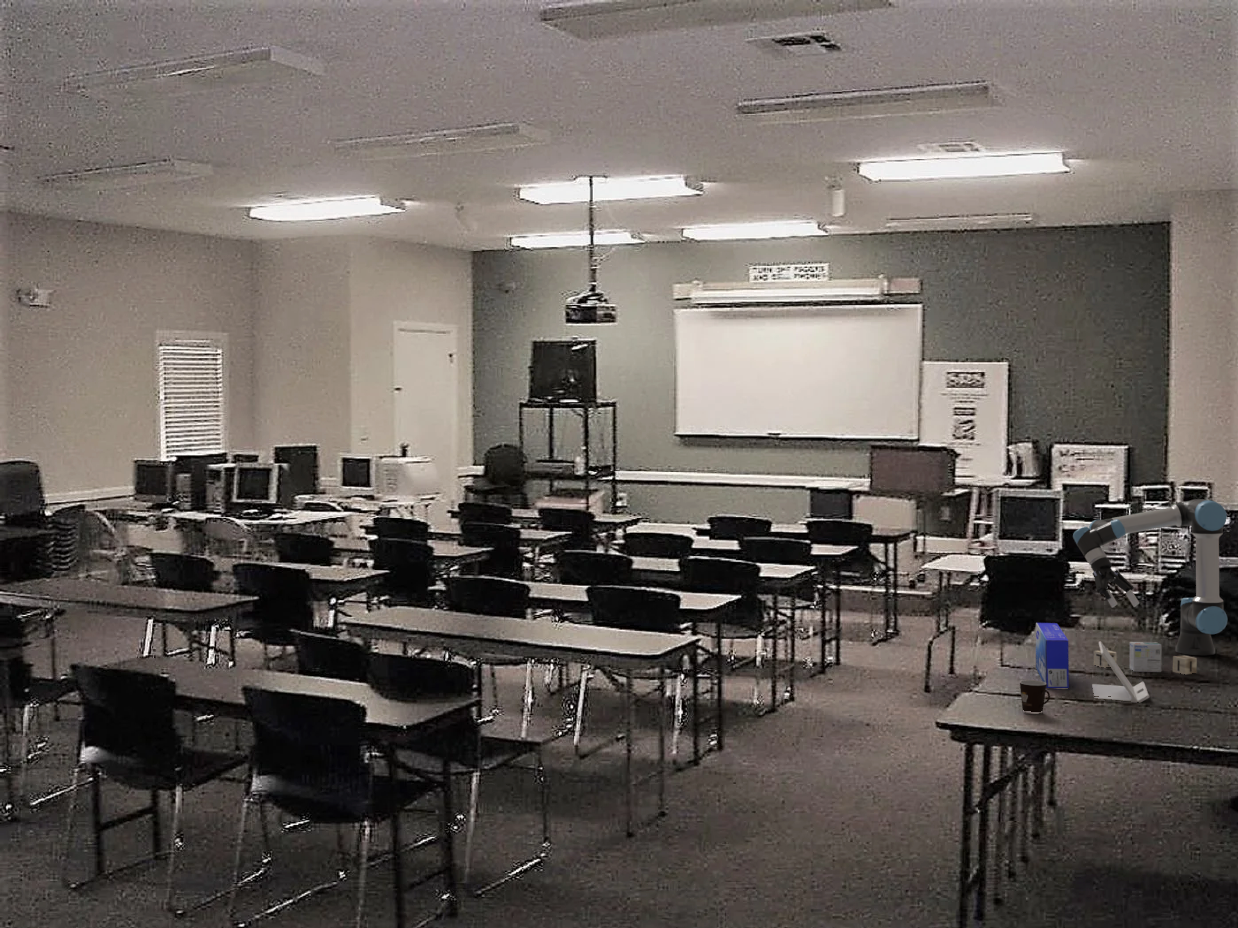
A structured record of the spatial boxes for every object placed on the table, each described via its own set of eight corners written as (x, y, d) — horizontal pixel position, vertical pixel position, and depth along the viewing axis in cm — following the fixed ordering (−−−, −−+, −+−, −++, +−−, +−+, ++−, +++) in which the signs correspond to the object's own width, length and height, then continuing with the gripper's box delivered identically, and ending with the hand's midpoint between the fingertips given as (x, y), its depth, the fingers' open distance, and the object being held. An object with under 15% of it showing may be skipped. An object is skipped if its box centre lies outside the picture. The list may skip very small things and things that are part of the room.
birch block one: (1184, 670, 524) (1184, 655, 524) (1196, 673, 518) (1197, 658, 518) (1172, 671, 522) (1172, 656, 521) (1184, 674, 516) (1184, 659, 516)
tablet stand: (1094, 700, 471) (1095, 651, 470) (1091, 686, 494) (1092, 640, 494) (1149, 703, 465) (1150, 654, 465) (1144, 689, 489) (1145, 642, 488)
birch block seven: (1105, 664, 536) (1105, 649, 535) (1116, 667, 530) (1117, 652, 530) (1093, 665, 533) (1093, 650, 533) (1104, 668, 528) (1104, 653, 527)
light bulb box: (1156, 669, 527) (1157, 641, 526) (1161, 672, 520) (1162, 644, 520) (1128, 668, 528) (1129, 641, 528) (1133, 671, 521) (1133, 644, 521)
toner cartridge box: (1034, 669, 527) (1035, 622, 526) (1057, 669, 525) (1058, 622, 524) (1044, 689, 489) (1045, 638, 488) (1069, 690, 487) (1069, 639, 486)
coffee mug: (1016, 709, 455) (1016, 679, 455) (1041, 709, 455) (1042, 680, 454) (1025, 717, 443) (1026, 687, 443) (1051, 717, 443) (1052, 687, 443)
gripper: (1112, 566, 555) (1139, 610, 543) (1072, 567, 541) (1099, 611, 530) (1124, 556, 550) (1152, 599, 538) (1084, 556, 537) (1112, 600, 525)
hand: (1125, 605), depth 534 cm, fingers open, 13 cm apart
